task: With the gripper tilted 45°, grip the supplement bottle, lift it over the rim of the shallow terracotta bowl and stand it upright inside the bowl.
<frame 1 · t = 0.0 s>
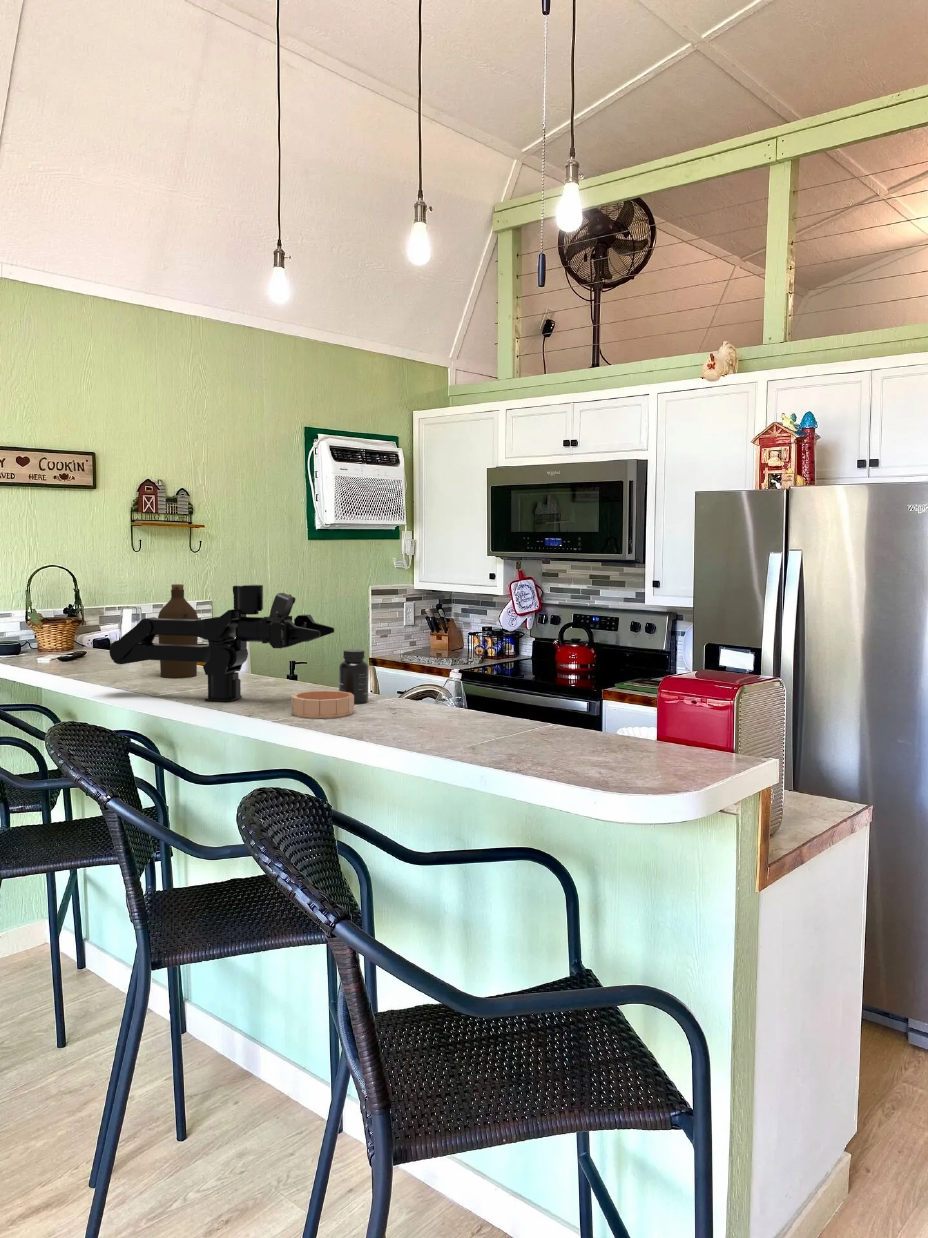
hand: (327, 631, 203), 17 cm above the countertop, tool horizontal, fingers open, 9 cm apart
terracotta bowl: (322, 712, 194), on the countertop
supplement bottle: (353, 702, 208), on the countertop
olive oil: (178, 676, 246), on the countertop
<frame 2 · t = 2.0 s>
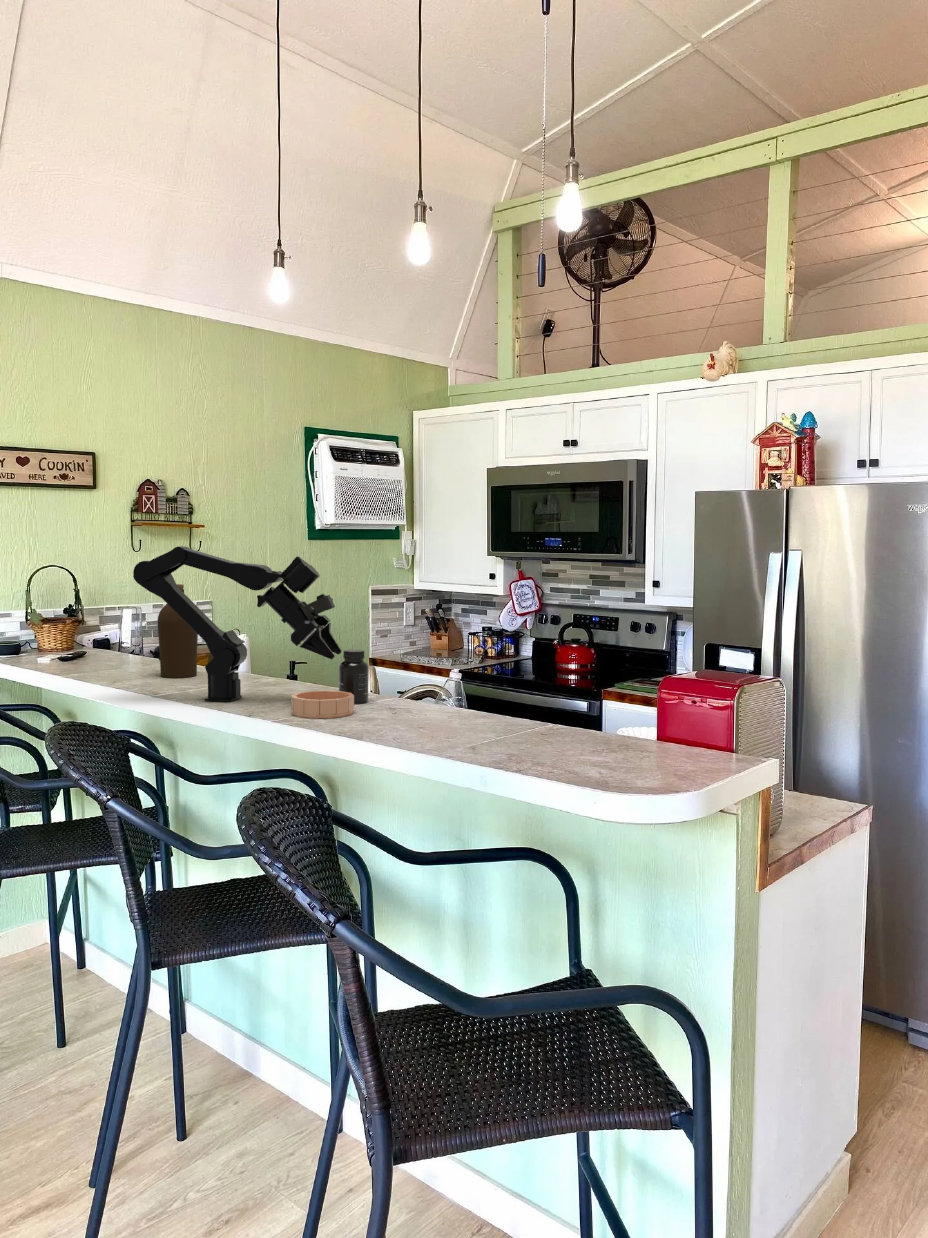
hand: (336, 655, 208), 11 cm above the countertop, tool tilted 45°, fingers open, 9 cm apart
nothing on the countertop moved.
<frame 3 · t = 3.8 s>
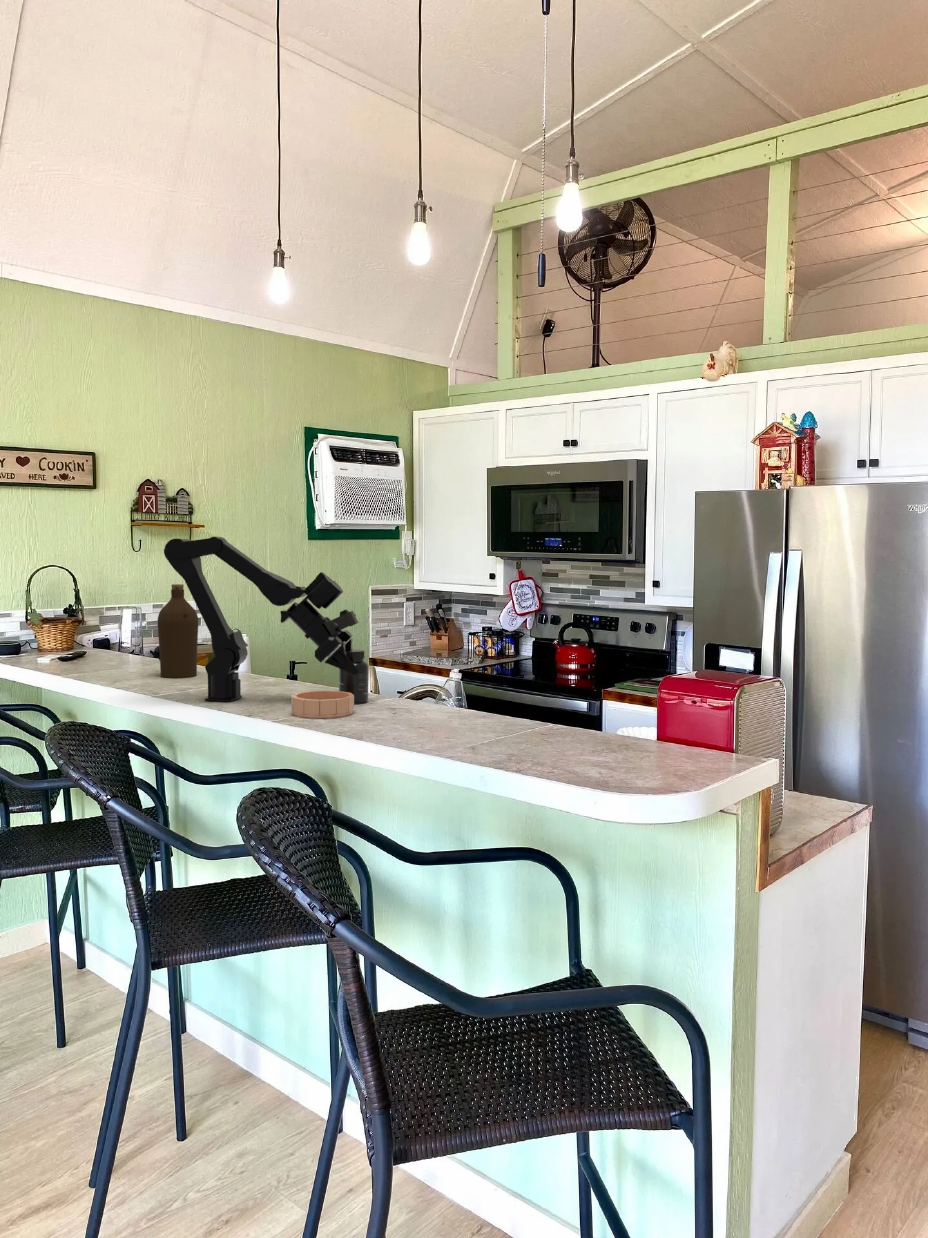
hand: (359, 671, 208), 7 cm above the countertop, tool tilted 45°, fingers closed on supplement bottle, 7 cm apart
supplement bottle: (353, 702, 208), on the countertop, touching gripper
everything else where it was.
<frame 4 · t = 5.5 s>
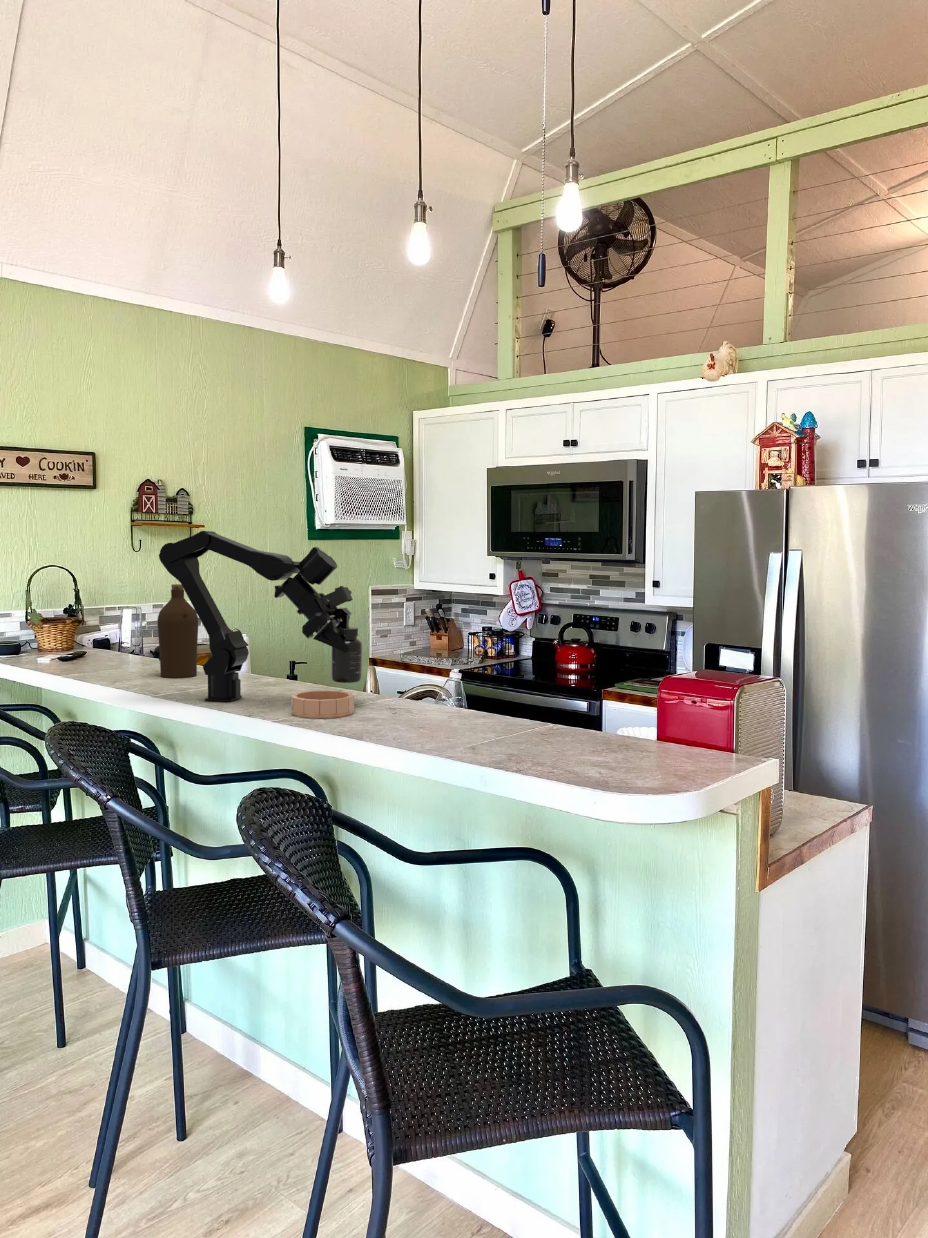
hand: (352, 649, 202), 13 cm above the countertop, tool tilted 45°, fingers closed on supplement bottle, 7 cm apart
supplement bottle: (346, 681, 203), point 5 cm above the countertop, touching gripper
everything else where it was.
when the fingers open (9 cm above the countertop, at t = 7.7 s): supplement bottle stays where it is, resting on terracotta bowl.
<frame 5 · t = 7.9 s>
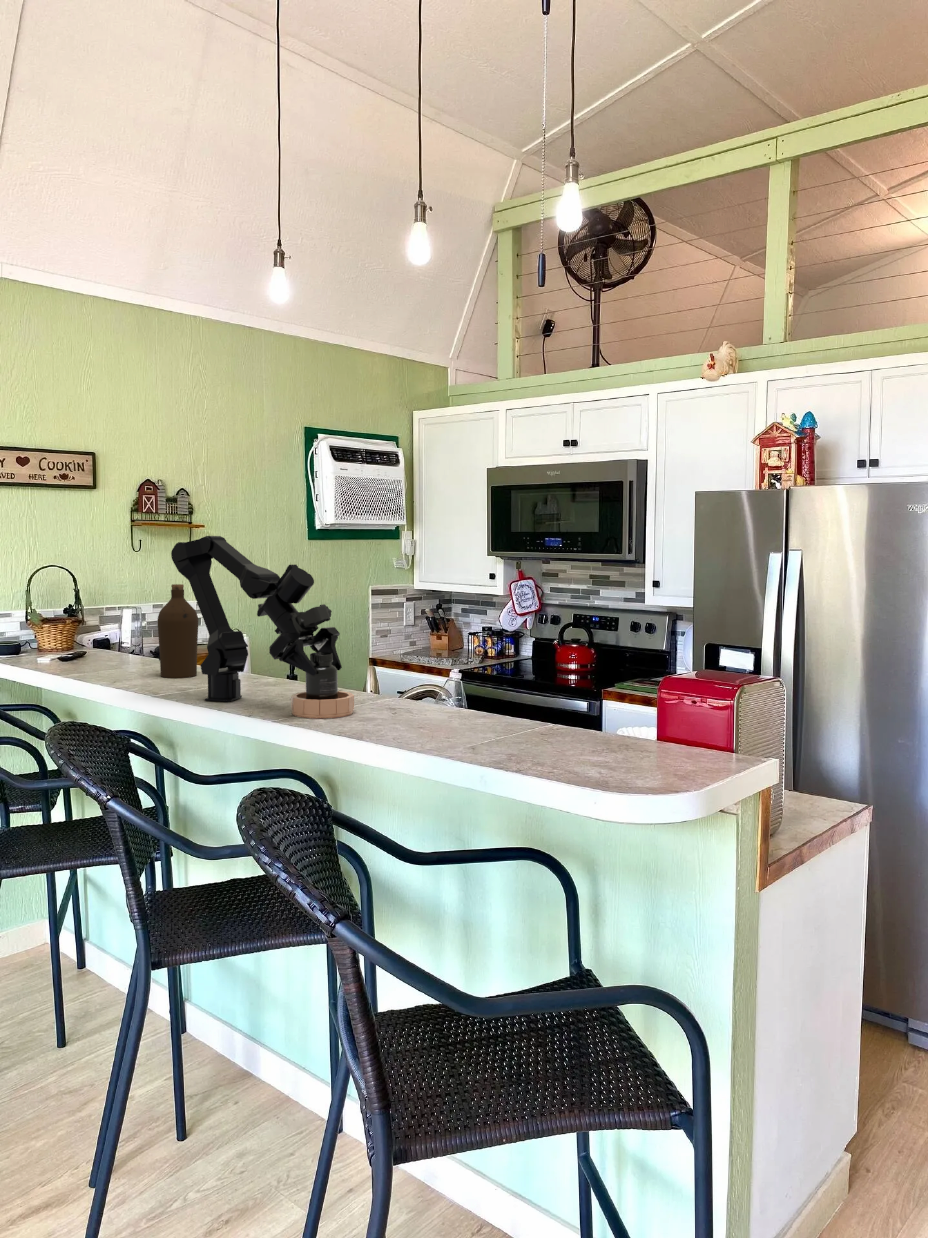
hand: (328, 671, 193), 9 cm above the countertop, tool tilted 45°, fingers open, 9 cm apart
supplement bottle: (322, 709, 194), point 1 cm above the countertop, touching terracotta bowl
everything else where it was.
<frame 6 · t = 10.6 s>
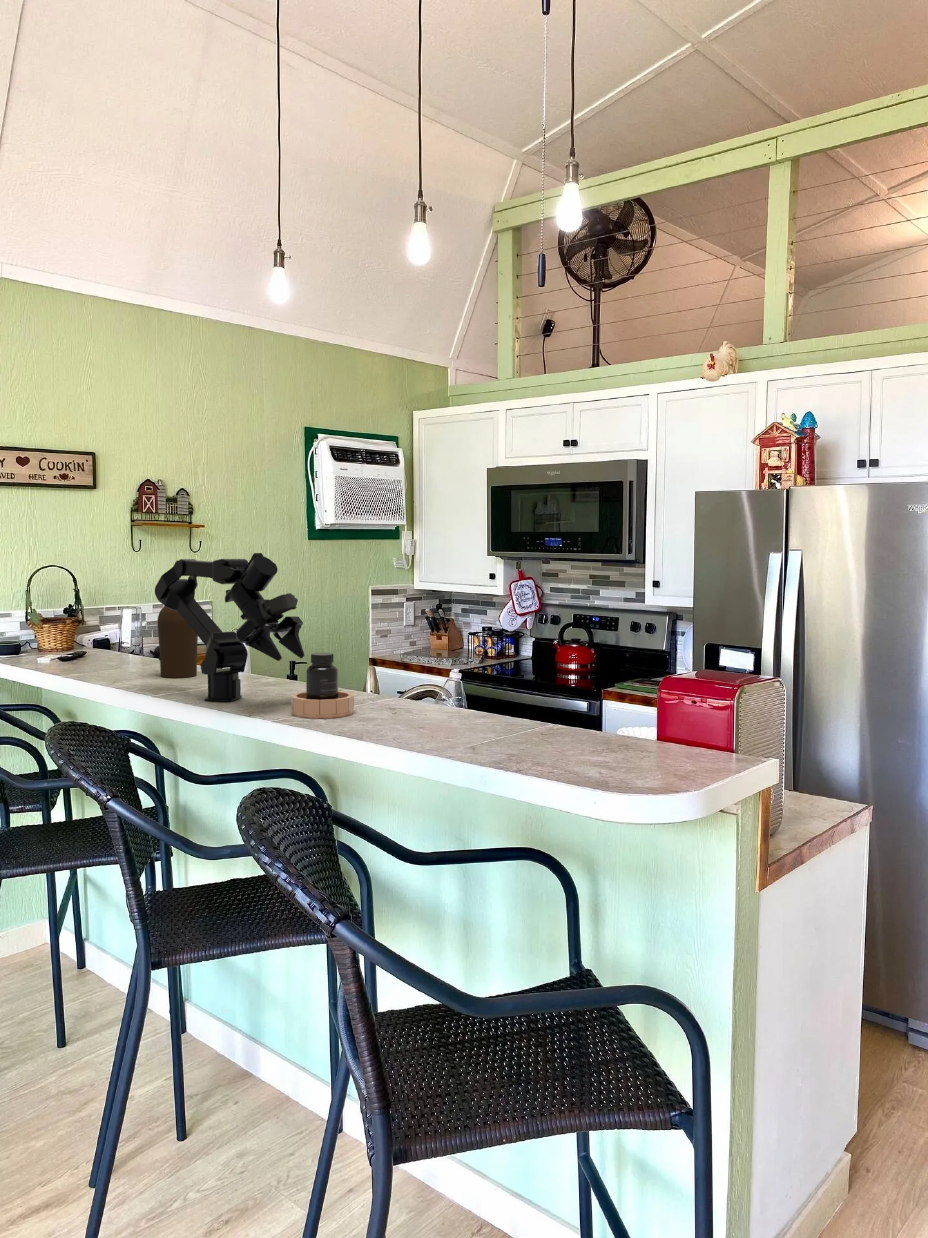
hand: (291, 658, 198), 11 cm above the countertop, tool tilted 45°, fingers open, 9 cm apart
nothing on the countertop moved.
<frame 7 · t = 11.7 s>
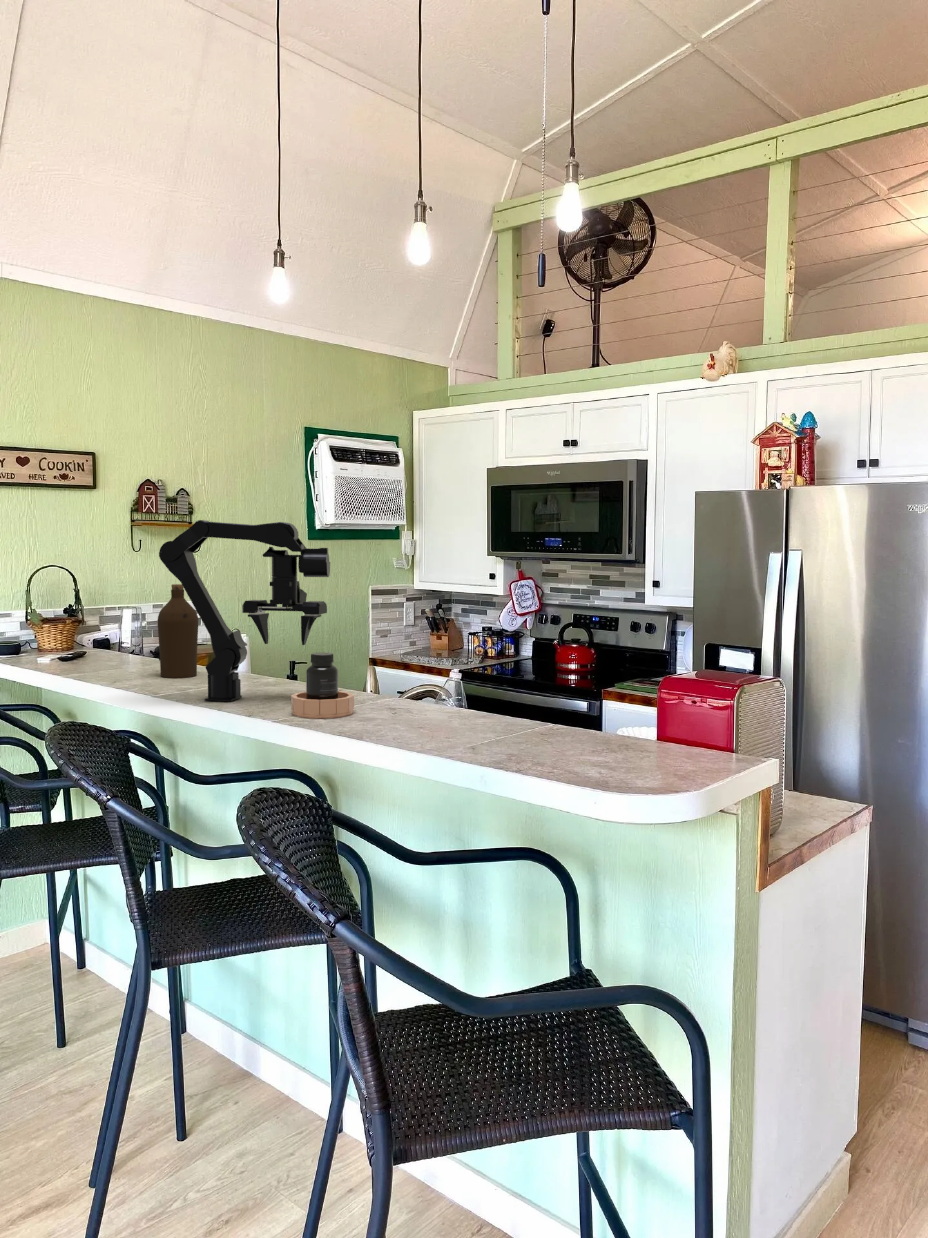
hand: (285, 644, 208), 13 cm above the countertop, tool pointing down, fingers open, 9 cm apart
nothing on the countertop moved.
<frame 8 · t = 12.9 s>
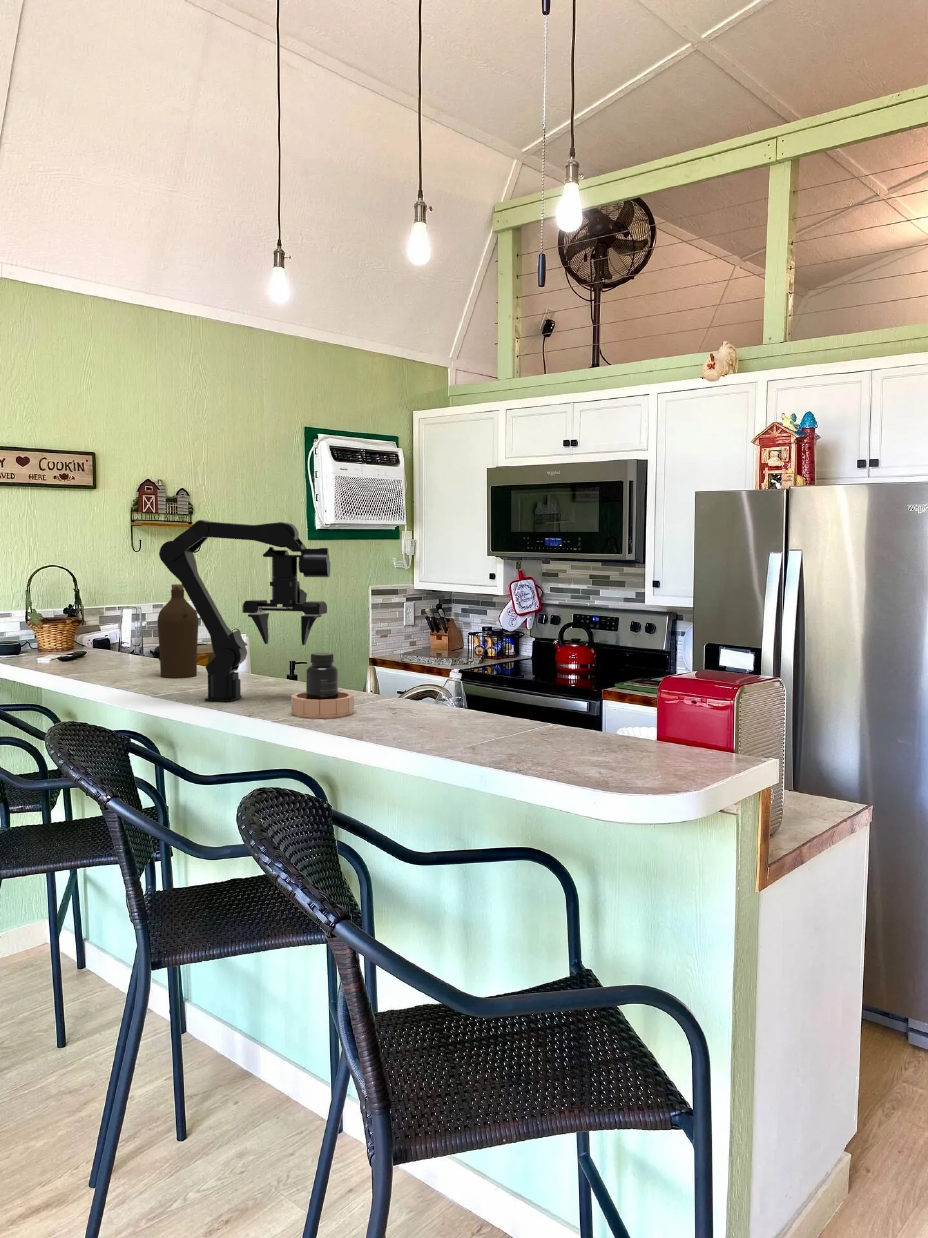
hand: (285, 644, 208), 13 cm above the countertop, tool pointing down, fingers open, 9 cm apart
nothing on the countertop moved.
at the end: supplement bottle 0.4 cm off-centre on the terracotta bowl, point 0.6 cm above the terracotta bowl's base; supplement bottle tilted 0°; the gripper is holding nothing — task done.
